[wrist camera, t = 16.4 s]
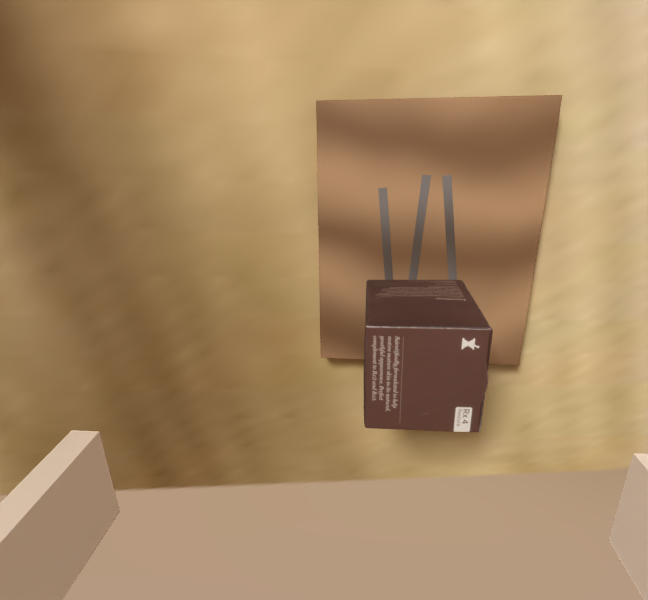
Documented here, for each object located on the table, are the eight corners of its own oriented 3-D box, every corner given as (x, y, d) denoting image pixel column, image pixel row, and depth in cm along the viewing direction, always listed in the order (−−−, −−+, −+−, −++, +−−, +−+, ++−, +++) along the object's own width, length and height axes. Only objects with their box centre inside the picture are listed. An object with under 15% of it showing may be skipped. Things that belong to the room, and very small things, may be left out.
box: (366, 276, 27) (364, 323, 21) (464, 277, 27) (496, 326, 20) (364, 362, 30) (362, 430, 23) (455, 365, 29) (481, 436, 22)
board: (319, 102, 26) (316, 100, 24) (551, 97, 24) (562, 95, 23) (323, 347, 31) (320, 357, 30) (512, 354, 30) (518, 365, 28)
